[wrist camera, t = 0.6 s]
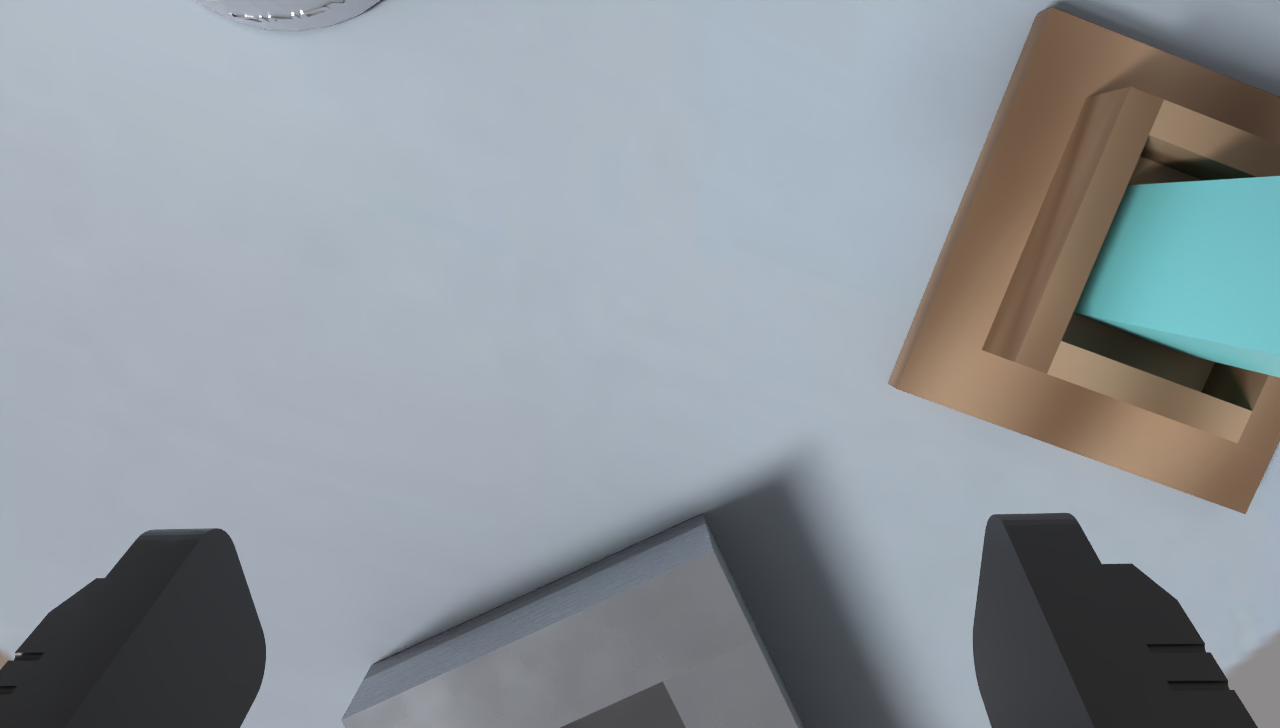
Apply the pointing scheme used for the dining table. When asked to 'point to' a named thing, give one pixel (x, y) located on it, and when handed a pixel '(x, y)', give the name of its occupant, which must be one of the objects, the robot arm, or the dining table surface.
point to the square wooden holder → (1066, 251)
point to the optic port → (595, 653)
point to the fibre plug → (1194, 270)
